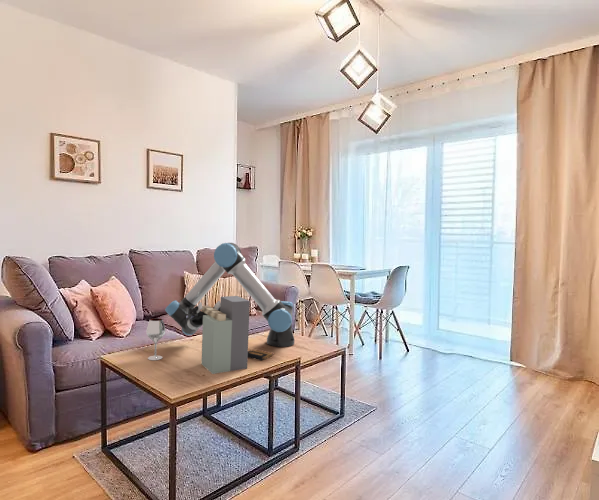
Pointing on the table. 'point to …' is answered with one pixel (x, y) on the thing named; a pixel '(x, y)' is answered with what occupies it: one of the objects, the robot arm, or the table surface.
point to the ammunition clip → (259, 354)
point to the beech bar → (214, 313)
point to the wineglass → (155, 334)
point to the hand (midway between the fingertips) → (210, 304)
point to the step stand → (226, 337)
